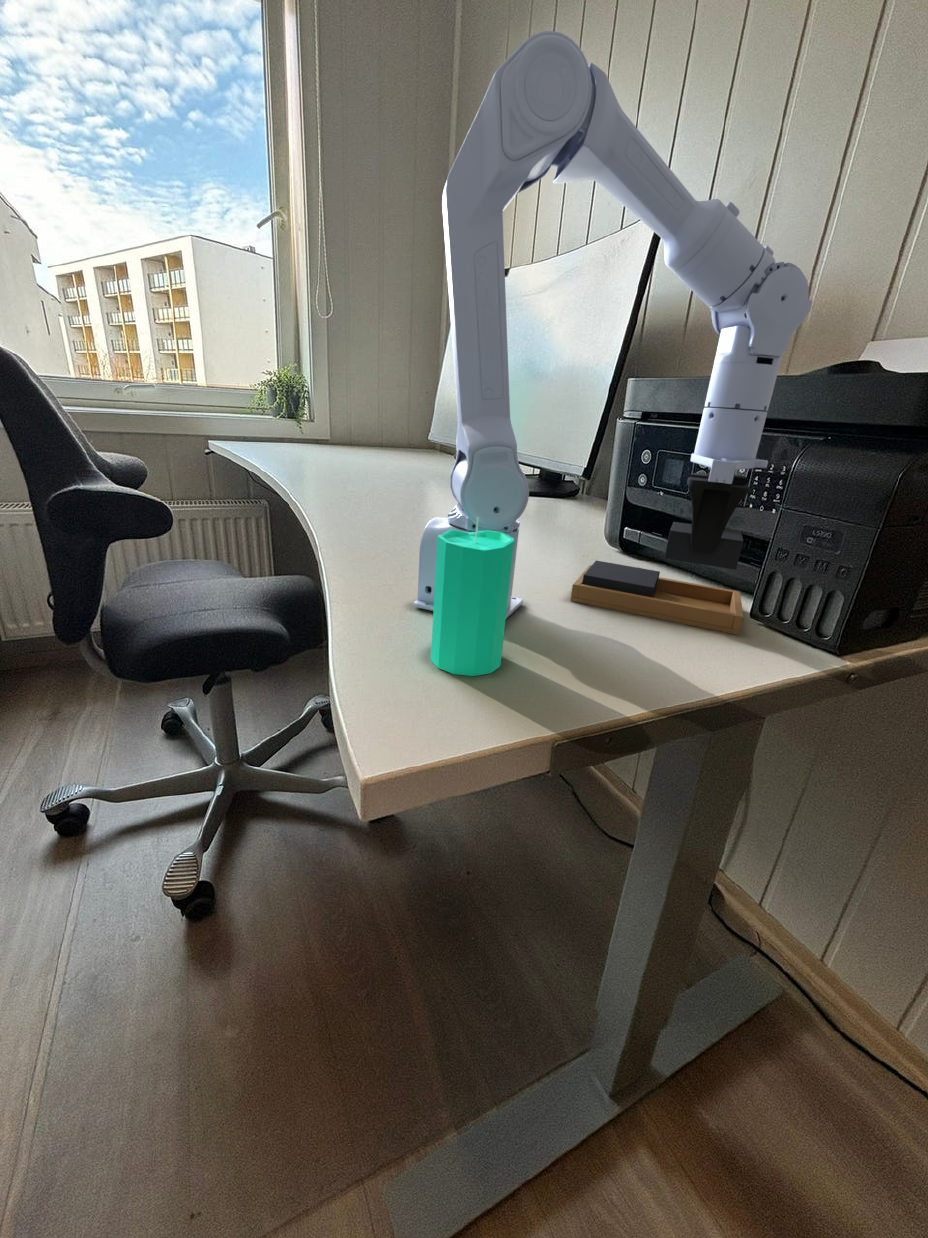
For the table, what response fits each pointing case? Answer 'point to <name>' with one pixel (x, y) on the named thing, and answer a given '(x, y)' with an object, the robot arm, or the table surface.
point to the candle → (470, 600)
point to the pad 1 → (622, 578)
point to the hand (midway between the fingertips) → (702, 545)
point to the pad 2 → (721, 557)
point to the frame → (671, 603)
